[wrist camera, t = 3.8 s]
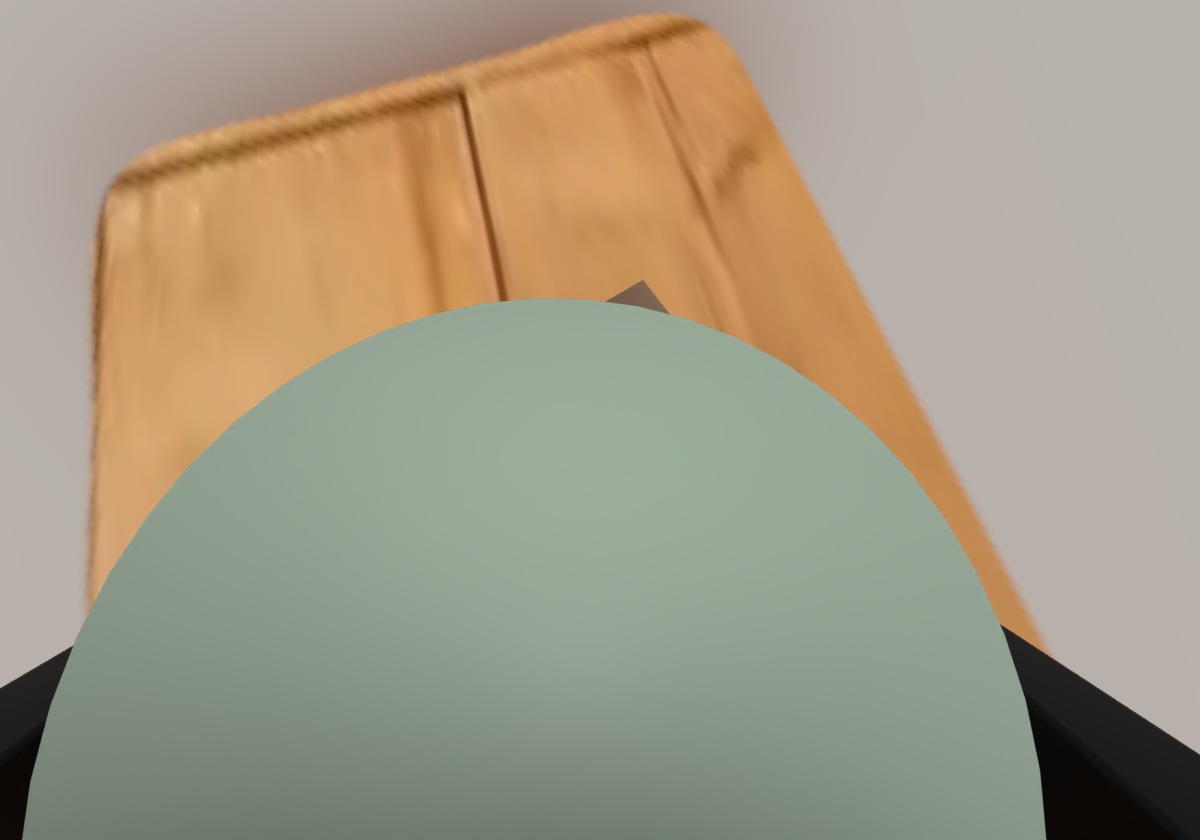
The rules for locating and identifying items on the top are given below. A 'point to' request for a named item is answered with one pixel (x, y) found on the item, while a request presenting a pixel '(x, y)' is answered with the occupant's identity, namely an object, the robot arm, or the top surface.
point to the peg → (542, 611)
